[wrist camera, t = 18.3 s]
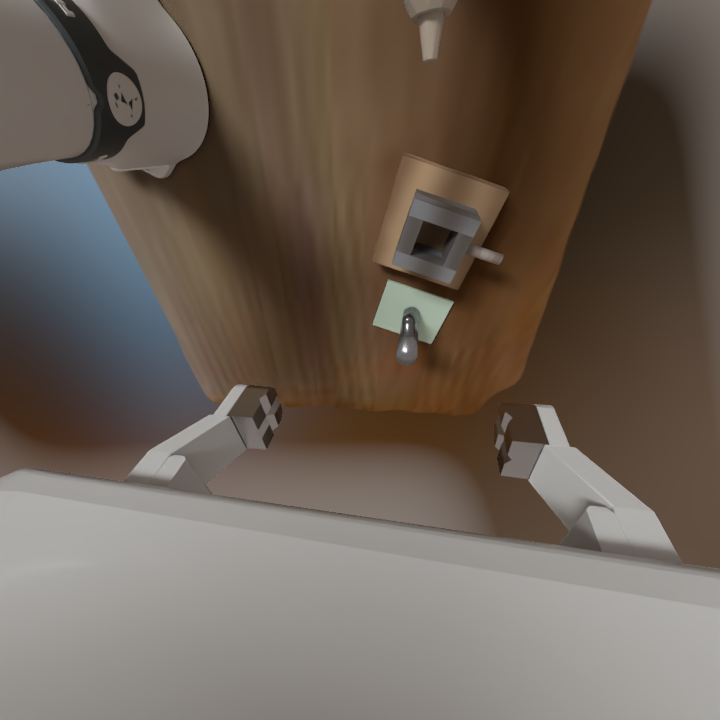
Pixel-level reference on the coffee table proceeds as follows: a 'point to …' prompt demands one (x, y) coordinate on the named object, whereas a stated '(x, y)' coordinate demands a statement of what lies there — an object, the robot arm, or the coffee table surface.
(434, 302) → the mat
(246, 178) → the coffee table surface
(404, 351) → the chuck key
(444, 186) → the block
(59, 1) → the robot arm
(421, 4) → the power drill
